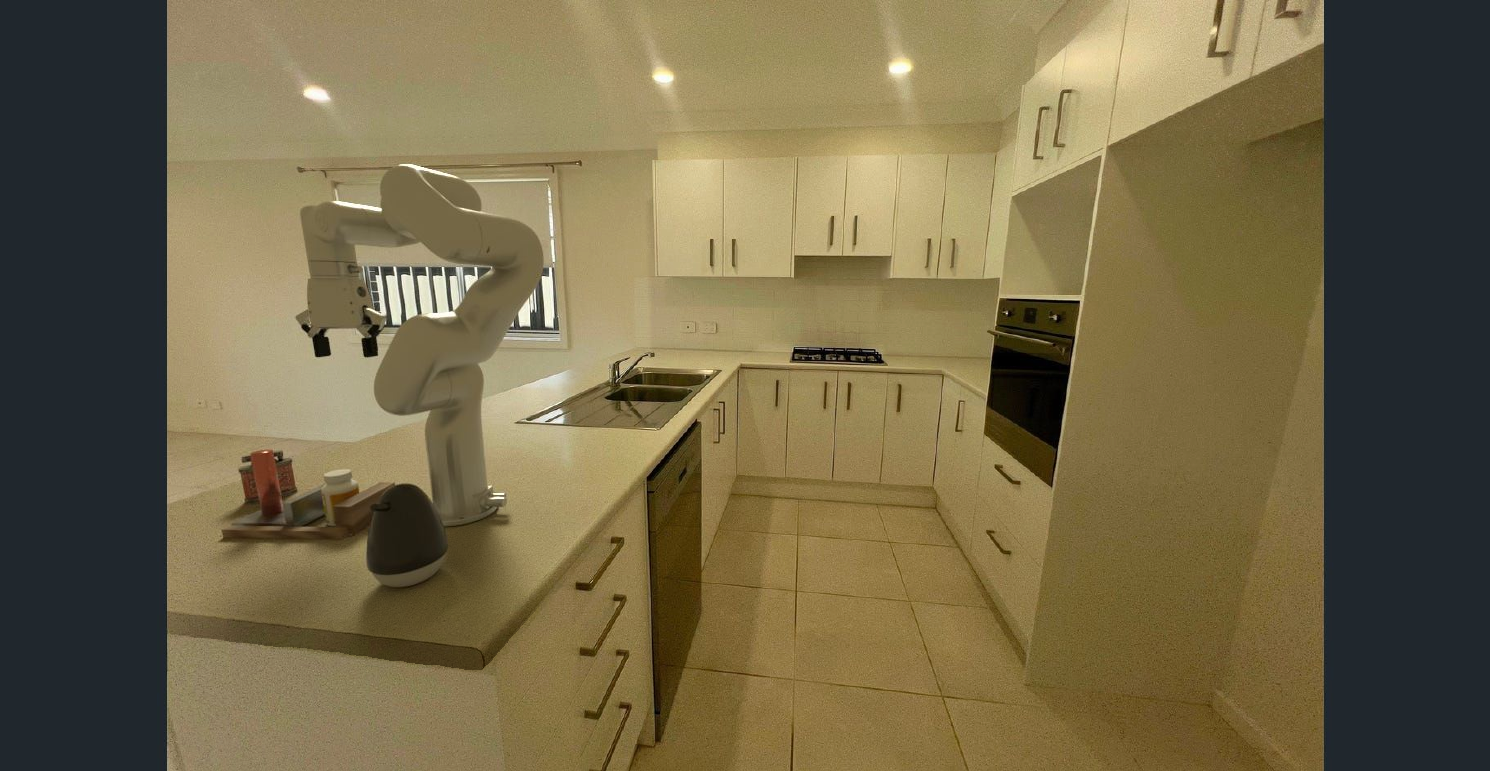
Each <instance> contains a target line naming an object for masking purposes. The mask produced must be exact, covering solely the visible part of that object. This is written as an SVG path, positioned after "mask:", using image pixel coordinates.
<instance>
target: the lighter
mask: <svg viewBox="0 0 1490 771" xmlns="http://www.w3.org/2000/svg"><path fill="white" fill-rule="evenodd" d="M273 453H274V458H275V464H276V469H277V475H278V480H279V486H280V491H281V497H282V496H283V497H285V496H289V495H293V494H296V493H297V492H299V491H298V487H297V486H296V481H295V475H294V468H293V465H292V463H293V458H292V457H285V458H284V451H283V450H282V449H278V450H273ZM249 462H250V464H247V465H243V466H240V467H238V469H237V470H238V473H239V474H240V477H241V478H240V479H241V484H242V488H243V493H244V504H245V503H252V504H256V503H255V502H257V503H260V502H259V497H258V492H257V486H256V481H255V476H254V471H253V466H252V461H251V455H250V454H247V455H243V456H242V457H241V463H242V464H246V463H249Z"/></svg>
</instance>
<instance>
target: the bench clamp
mask: <svg viewBox="0 0 1490 771" xmlns="http://www.w3.org/2000/svg"><path fill="white" fill-rule="evenodd" d="M394 485H396V483H395V482H388V481H387V482H386V481H385V482H381V481H379V482H377V483H376V484H374V485H371V486H370V487H368V488H366V489H364V490H363V491H361V492H360V491H359V493H358V494H356V495H354V496H352V497H350V498H348V499H347V500H345V501H343V502H341V503H339V504H337V505H335V506H333V509H334V516H335V522H336V526H302V527H288V526H231V525H229V526H227V527H225V528H222V529H221V535H222V537H223V539H225V538H226V539H229V538H230V539H231V538H232V539H238V538H239V539H240V538H241V539H289V540H290V539H294V540H295V539H297V540H299V539H301V540H302V539H303V540H306V539H307V540H343V539H345V538H346V537H348V536H355V535H357V534H359V533H360V532H361V531H364V530H365V529H366V528H369V527H370V522H371V518H372V515H373V512H374V511H371V510H370V506H371V505H372V504H375V503H377V502H378V500H379V499H380V497H381V495H382V494H383V493H384V492H385V491H386V490H387V489H388V488H390V487H392V486H394ZM297 496H298V495H297ZM297 496H294V497H291V498H289V499H288V500H290V499H293V498H295V497H297Z"/></svg>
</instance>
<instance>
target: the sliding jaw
mask: <svg viewBox="0 0 1490 771" xmlns="http://www.w3.org/2000/svg"><path fill="white" fill-rule="evenodd" d="M273 451H274V450H273V449H261V450H256V451H253V452H251V453H249V455H251V461H252V466H253V471H254V476H255V481H256V486H257V492H258V497H259V502H258V503H259V506H260V509H259V510H257V511H255V512H252V513H249V514H247V515H245V516H243V517H241V518H239V519H237V520H234V521H232V522H230V526H288V527H305V526H306V525H307V524H309V523H312V522H314V521H316V520H317V519H319V518H321V517H322V516H325V511H324V506H323V499H322V494H321V489H322V487H323V486H324V485H326V484H327V483H323V484H322V485H320V486H317V487H315V488H313V489H311V490H309V491H306V492H304V493H302V494H299V495H297V497H295V496H294V497H295V498H293V497H292V498H293V499H291V498H289V499H290V500H289V499H287V500H285V501H283V498H282V497H281V491H280V486H279V480H278V475H277V469H276V464H275V459H276V457H274V453H273Z"/></svg>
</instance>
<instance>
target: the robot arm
mask: <svg viewBox="0 0 1490 771" xmlns="http://www.w3.org/2000/svg"><path fill="white" fill-rule="evenodd" d="M379 185H380V186H379V192H380V197H381V199H380V207H374V206H370V205H363V204H357V203H349V202H345V201H338V200H337V201H336V200H330V201H329V200H328V201H323V202H321V203H319V204H318V205H312V204H311V205H310V204H309V205H305V206H302V207H301V208H300V210H299V211H300V212H299V216H300V221H301V222H300V223H301V228H302V229H301V230H302V234H303V241H304V247H305V253H306V259H307V265H308V272H309V278H307V288H306V301H307V302H306V303H307V309H306V310H304V311H302V312H300V313H298V314H297V315H295V320H296V321H297V322H298V324H299V325H300V328H301V330H303V331H304V332H305V333H306V334H307V337H308V338H310V339H312V341H311V342H312V346H313V351H314V357H315V358H324V357H330V356H331V355H332V351H331V344H330V338H329V337H328V336H326V335H327V333H328V332H329V330H330V329H333V330H334V329H335V330H337V329H339V330H340V329H342V330H343V329H347V330H348V329H351V330H352V329H356V330H357V331H358V332H359V333H360V334H361V335H362V336H363V337H361V346H362V355H363V357H364V358H365V359H366V358H373V357H374V358H375V357H378V356H379V347H378V340H377V338H378V337H379V336H380V334H381V332H382V331H383V330H384V329H385V325H386V322H387V318H388V317H387V316H386V315H385V314H383V313H381V312H379V311H377V310H374V306H373V302H372V299H371V295H370V292H369V289H368V287H367V286H368V285H367V284H366V282H365V280H364V278H363V279H360V274H362V273H363V272H364V268H363V267H362V266H360V265H358V260H357V259H358V258H357V253H356V247H355V245H357V246H366V247H367V246H370V247H378V248H379V247H380V248H391V249H392V248H401V247H406V246H413V245H416V244H420V243H421V244H422V245H423V246H425V248H427V249H428V250H429V251H430V252H432V253H433V254H434V255H435V256H436V257H438V258H440V259H441V260H444V261H446V262H448V263H453V264H458V265H471V266H484V267H485V266H486V267H491V268H490V269H489V271H487V272H486V273H484V274H483V275H482V276H479V278H478V279H477V280H476V281H474V282H473V283H472V284H471V285H470V286H469V288H468V289H467V291H466V293H465V295H464V297H463V299H462V300H461V301H460V303H459V305H458V306H457V307H456V308H455V309H453V310H451V311H447V312H430V313H420V314H417V315H414V316H412V317H410V318H408V319H407V320H405V321H404V322H403V323H401V325H400V326H399V327H398V329H397V330H396V332H395V334H394V336H393V338H392V340H391V341H390V344H389V345H388V348H387V350H386V352H385V355H384V356H383V358H382V360H381V362H380V364H379V366H378V369H377V372H376V374H375V378H374V382H373V394H374V398H375V401H376V403H377V405H378V406H379V407H380V409H382V410H383V411H384V412H386V413H388V414H390V415H393V416H397V417H398V416H399V417H400V416H402V417H405V416H411V415H416V414H417V415H418V414H421V413H425V412H428V416H427V418H426V422H425V424H424V425H425V427H424V439H425V449H426V458H427V466H428V474H429V482H430V490H431V499H432V500H431V501H432V503H433V505H434V506H435V508H436V510H437V512H438V514H439V516H440V518H441V521H442V523H443V526H444V527H454V526H460V525H466V524H470V523H473V522H476V521H479V520H481V519H484V518H486V517H488V516H490V515H492V514H493V513H494V512H495V511H496V510H497V508H506V506H507V503H508V499H507V493H505V492H502V493H501V492H498V493H496V492H495V491H494V485H488V477H487V467H486V457H485V447H484V432H483V421H482V400H483V393H484V384H485V382H484V380H485V379H484V373H483V370H482V368H481V367H480V365H479V364H481V363H484V362H487V361H488V360H490V359H491V358H492V357H493V356H494V354H495V353H496V351H497V350H498V348H499V347H500V344H501V343H502V341H503V340H504V338H505V336H506V335H507V333H508V331H509V329H510V328H511V327H512V325H513V323H514V321H515V319H516V317H517V316H518V314H519V313H520V311H521V310H522V308H523V306H524V305H525V304H526V303H527V301H528V300H529V299H530V297H531V295H532V294H533V293H534V292H535V290H536V288H537V286H538V285H539V282H540V280H541V278H542V275H543V271H544V259H545V258H544V251H543V250H544V249H543V246H542V243H541V241H540V239H539V236H538V235H537V234H536V232H535V231H534V229H533V228H532V227H530V226H528V225H527V224H526V223H524V222H522V221H520V220H517V219H515V218H511V217H508V216H505V215H499V214H496V213H495V214H494V213H490V212H483V211H482V200H481V196H480V194H479V193H478V191H477V190H476V189H475V187H474V186H472V185H471V184H470V183H469V182H467V181H466V180H465V179H463V178H460V177H458V176H455V175H452V174H448V173H444V172H441V171H438V170H433V169H429V168H426V167H421V166H419V165H414V164H408V163H407V164H405V163H404V164H403V163H402V164H398V165H395V166H392V167H391V168H389V169H388V170H386V171H385V173H384V174H383V176H382V177H381V179H380V184H379Z"/></svg>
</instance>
